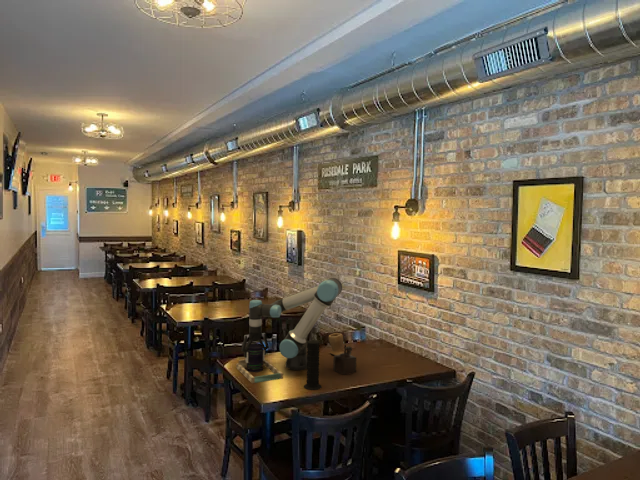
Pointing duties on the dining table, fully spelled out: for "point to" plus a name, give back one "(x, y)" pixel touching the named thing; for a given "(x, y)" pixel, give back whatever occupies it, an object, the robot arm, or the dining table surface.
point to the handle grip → (312, 365)
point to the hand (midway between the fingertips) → (255, 361)
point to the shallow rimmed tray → (276, 375)
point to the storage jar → (255, 358)
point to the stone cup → (336, 343)
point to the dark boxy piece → (345, 362)
